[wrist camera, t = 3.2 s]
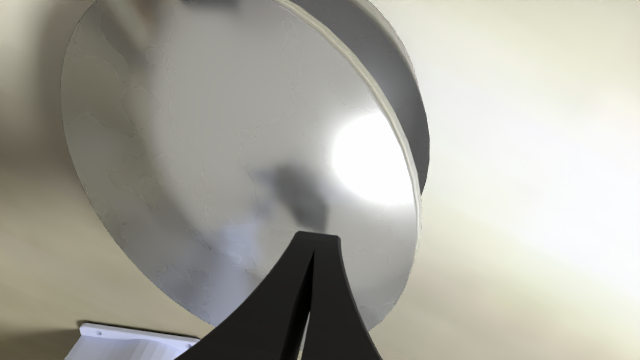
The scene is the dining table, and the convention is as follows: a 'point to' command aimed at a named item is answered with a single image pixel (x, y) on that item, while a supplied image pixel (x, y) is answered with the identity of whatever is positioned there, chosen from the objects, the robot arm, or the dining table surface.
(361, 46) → the cooker pot
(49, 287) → the dining table surface
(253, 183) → the cooker lid
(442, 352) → the dining table surface
